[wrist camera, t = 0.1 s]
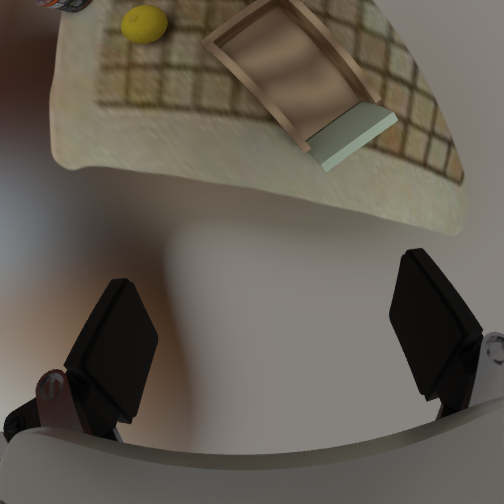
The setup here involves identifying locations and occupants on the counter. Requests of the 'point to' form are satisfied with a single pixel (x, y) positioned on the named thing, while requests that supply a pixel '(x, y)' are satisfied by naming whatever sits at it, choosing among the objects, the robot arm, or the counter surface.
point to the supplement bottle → (64, 4)
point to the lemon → (144, 24)
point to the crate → (291, 65)
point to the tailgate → (349, 133)
